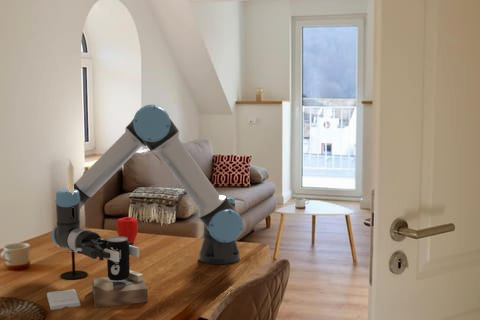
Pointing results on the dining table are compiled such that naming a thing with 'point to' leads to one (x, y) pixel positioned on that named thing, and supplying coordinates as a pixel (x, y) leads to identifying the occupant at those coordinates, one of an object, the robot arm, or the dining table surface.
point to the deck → (120, 294)
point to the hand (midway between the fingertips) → (128, 254)
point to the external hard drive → (63, 299)
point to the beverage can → (122, 267)
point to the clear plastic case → (112, 284)
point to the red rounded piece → (127, 228)
